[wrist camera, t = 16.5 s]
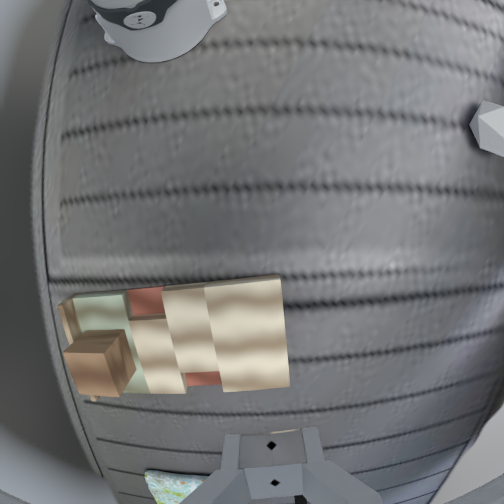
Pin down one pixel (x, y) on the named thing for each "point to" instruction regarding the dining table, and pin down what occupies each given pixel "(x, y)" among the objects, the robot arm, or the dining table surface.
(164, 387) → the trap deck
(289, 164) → the dining table surface
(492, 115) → the die
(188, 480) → the towel
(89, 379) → the walnut block
